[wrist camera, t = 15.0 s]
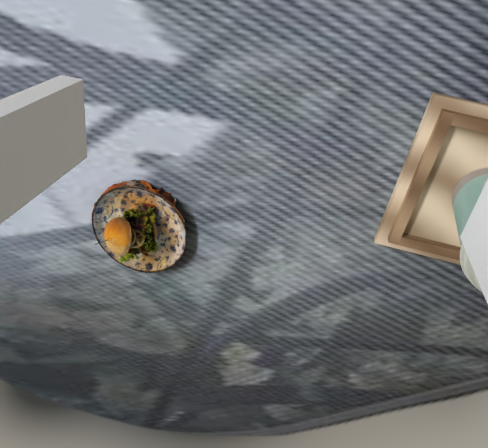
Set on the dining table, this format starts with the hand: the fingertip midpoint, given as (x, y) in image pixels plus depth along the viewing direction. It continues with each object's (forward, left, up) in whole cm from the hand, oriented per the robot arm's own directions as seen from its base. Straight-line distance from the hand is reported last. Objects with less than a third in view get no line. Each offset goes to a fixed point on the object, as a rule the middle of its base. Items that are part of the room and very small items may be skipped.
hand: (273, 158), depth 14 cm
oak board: (+10, +19, -30) cm, 37 cm away
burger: (+24, -15, -30) cm, 41 cm away
